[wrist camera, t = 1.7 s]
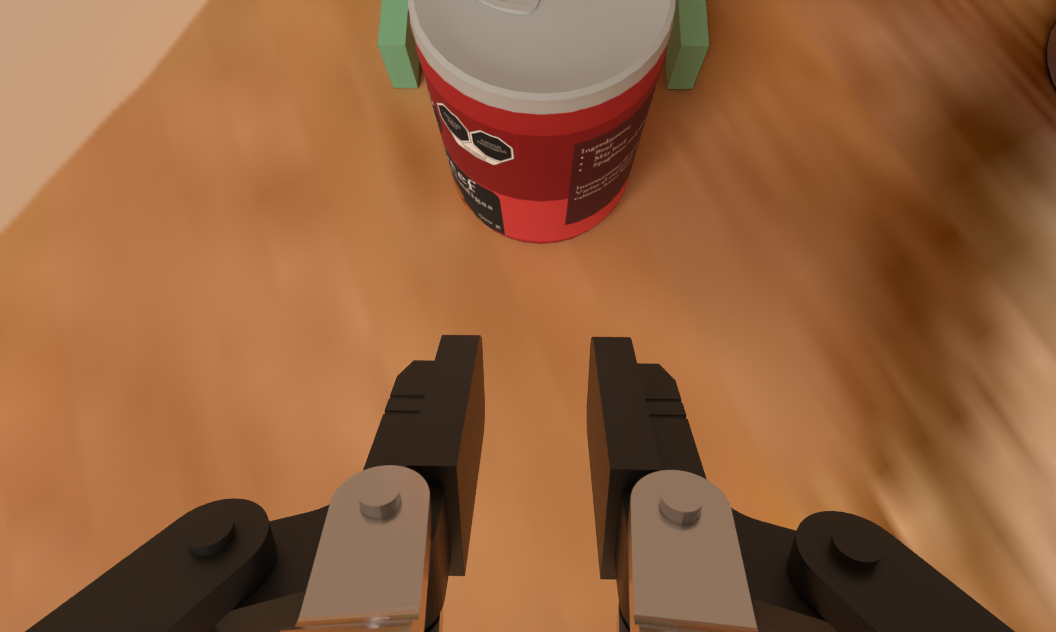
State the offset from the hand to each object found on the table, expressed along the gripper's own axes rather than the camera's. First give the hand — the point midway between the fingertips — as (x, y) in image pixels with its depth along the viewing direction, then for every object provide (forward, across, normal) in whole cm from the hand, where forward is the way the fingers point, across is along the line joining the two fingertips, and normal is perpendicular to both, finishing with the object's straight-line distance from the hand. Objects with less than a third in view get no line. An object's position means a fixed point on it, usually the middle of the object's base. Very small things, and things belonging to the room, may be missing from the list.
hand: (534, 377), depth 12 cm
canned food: (+18, 0, +2) cm, 19 cm away
